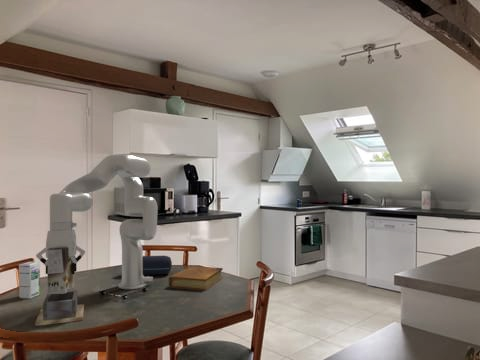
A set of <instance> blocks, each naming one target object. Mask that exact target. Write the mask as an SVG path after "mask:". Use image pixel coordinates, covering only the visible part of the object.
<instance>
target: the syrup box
mask: <svg viewBox="0 0 480 360" xmlns="http://www.w3.org/2000/svg"><path fill="white" fill-rule="evenodd" d="M40 264H41V263H40V261H28V262H24V263H20V264H18V283H19V284H18V287H19V288H18V289H19V293H18V294H19V298H21V299H33V298H34V297H37V296H39V295H40V296H41V278H40V277H41V271H40V266H41V265H40Z"/></svg>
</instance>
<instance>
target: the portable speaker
mask: <svg viewBox="0 0 480 360" xmlns="http://www.w3.org/2000/svg"><path fill="white" fill-rule="evenodd" d="M172 264H173V262H172V259H171V257H170V256H168V255H143V276H156V275H157V276H158V275H159V276H162V275H168V274H170V272H171V270H172Z"/></svg>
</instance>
